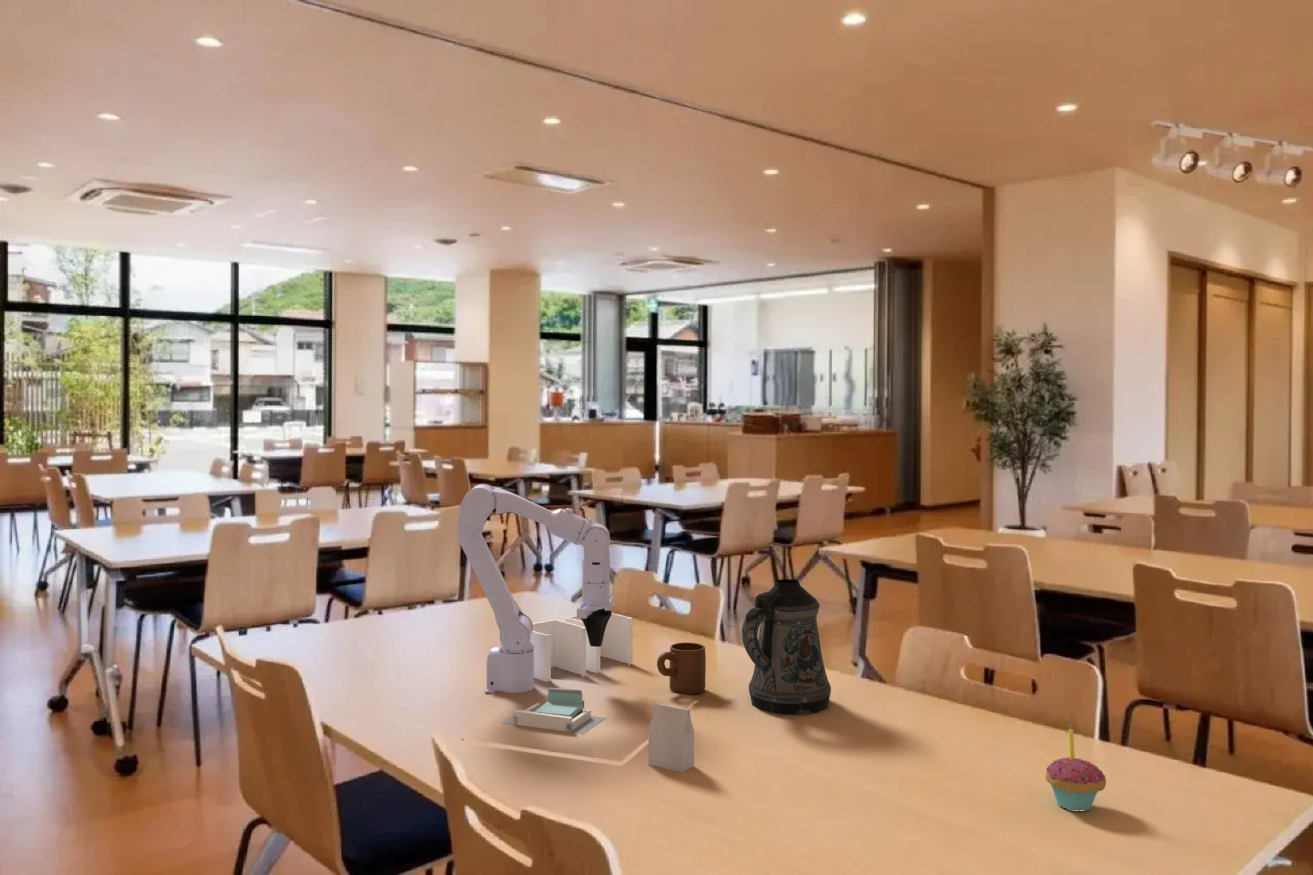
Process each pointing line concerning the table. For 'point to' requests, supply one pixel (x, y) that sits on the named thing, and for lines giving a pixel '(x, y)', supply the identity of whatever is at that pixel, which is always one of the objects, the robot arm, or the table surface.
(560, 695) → the trolley
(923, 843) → the table surface
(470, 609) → the table surface
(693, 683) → the mug
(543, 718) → the dock
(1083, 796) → the cupcake
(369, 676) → the table surface
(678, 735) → the light grey paper bag
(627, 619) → the storage container
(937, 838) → the table surface
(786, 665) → the beer stein
